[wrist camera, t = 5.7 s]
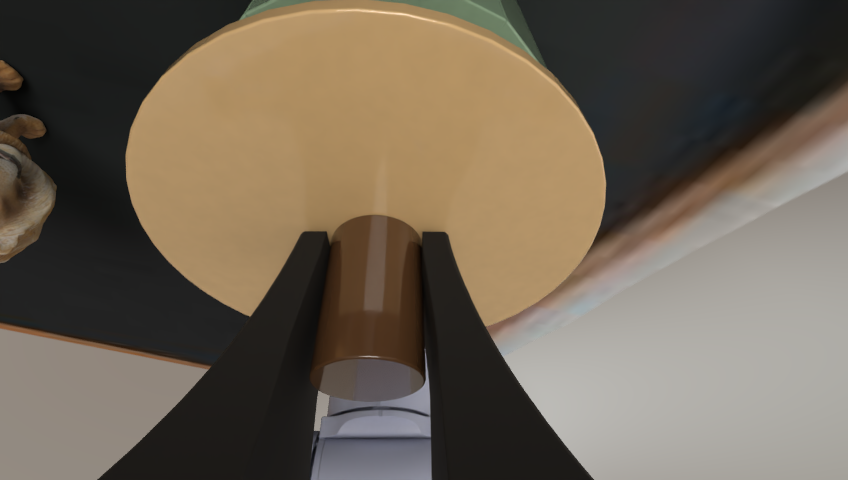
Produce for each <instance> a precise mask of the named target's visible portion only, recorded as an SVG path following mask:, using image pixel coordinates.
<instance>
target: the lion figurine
mask: <svg viewBox="0 0 848 480" xmlns="http://www.w3.org/2000/svg"><path fill="white" fill-rule="evenodd" d="M22 81H23V78H22V77H21V76H20V75H19V73H18V72H17V71H16V70H15V69H14V68H12V67H11V66H9V65H8V64H7V63H6V62H5V61H3V60H0V93H1V92H2V91H3V90H17V89H19V88H20V87H21V85H22ZM45 132H46V128H45V126H44V124H43V122H42V121H40V120H39V119H37V118H34V117H32V116H29V115H25V114H17V115H13V116H11V117H9V118H6V119H4V120H2V121H0V263H4V262H6V261H8V260H9V259H10V258H11V257H13V256H14V255H16V254H17V253H19V252H21V251H22V250H24V249H25V248H26V247H27V246H28V245H30V244H32V243H33V242H35V241H36V240H37V239H38V238H39V235H40V232H41V229H42V226H43V223H44V222H45V220H46V219H47V217H48V215H49V214H50V213H51V211H52V209H53V207H54V205H55V196H56V189H57V185H56V184H54V182H53V180H52V179H51V177H50V176H49V175H48V174H47V173H46V172H44V171H43V170H42V169H41V168H40V167H39V166H38V165H37V164H35V163H34V162H33V161H31V156H30V154H29V152H28V150H27V148H26V146H25V144H23V143H22V142H21V141H20V140H19V139H18V138H19V137H20V136H21V135H23V136H24V137H26V138H30V139H32V138H36V137H41V136H43V135H44V134H45Z"/></svg>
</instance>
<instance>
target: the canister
mask: <svg viewBox="0 0 848 480" xmlns="http://www.w3.org/2000/svg"><path fill="white" fill-rule="evenodd" d="M311 1H327V0H251V1H250V3H249V4H248V6H247V7H246V9H245V10H244V12H243V13H242V15H241V16H240V18H239V19H238V21H239V20H242V19H245V18H247V17H250V16H253V15H256V14H258V13H261V12H264V11H266V10H270V9H275V8H280V7H285V6H290V5H295V4H300V3H306V2H311ZM373 1H384V2H394V3H404V4H409V5H413V6H417V7H421V8H425V9H430V10H434V11H438V12H442V13H446V14H450V15H452V16H455V17H457V18H460V19H462V20H465V21H467V22H470V23H472V24H475V25H477V26H480V27H482V28H485V29H487V30H490V31H492V32H493V33H495V34H497V35H498V36H500V37H502V38H504V39H505V40H507V41H509V42H510V43H512V44H514V45H515V46H517V47H519V48H521V49H522V50H524V51H525V52H527V53H528V54H529V55H530V56H531V57H533V58H534V59H535V60H536V61H538V62H539V63H540V64H541V65H542V66H544V67H545V68H546V65H545V63H544V61H543V59H542V57H541V54H540V52H539V50H538V48H537V45H536V43H535V41H534V39H533V37H532V34H531V32H530V30H529V28H528V25H527V23H526V21H525V19H524V17H523V14H522V12H521V10H520V8H519V5H518V3H517V1H516V0H373ZM546 69H547V68H546Z"/></svg>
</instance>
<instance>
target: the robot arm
mask: <svg viewBox="0 0 848 480" xmlns="http://www.w3.org/2000/svg"><path fill="white" fill-rule="evenodd" d="M329 250H330V244H329V239H328V235H327V231H304V232H303V233H302V234H301V235H300V237H299V239H298V241H297V242H296V244H295V246H294V248H293V250H292V252H291V254H290V255H289V257H288V259H287V261H286V262H285V264H284V266H283V267H282V269H281V271H280V273H279V274H278V276H277V277H276V279H275V281H274V282H273V284H272V285H271V287H270V288H269V290H268V292H267V293H266V295H265V296H264V298H263V299H262V301H261V302H260V304H259V305H258V307H257V308H256V309H255V311H254V312H253V314H252V315H251V316H250V318H249V319H248V321H247V322H246V323H245V325H244V326H243V328H242V329H241V330H240V332H239V333H238V334H237V336H236V337H235V338H234V340H233V341H232V342H231V343H230V345H229V346H228V347H227V348H226V350H225V351H224V352H223V353H222V355H221V356H220V357H219V358H218V359H217V361H216V362H215V363H214V364H213V365H212V367H211V368H210V369H209V370H208V371H207V372H206V373H205V374H204V376H203V377H202V378H201V379H200V380H199V381H198V382H197V383H196V385H195V386H194V387H193V388H192V389H191V390H190V391H189V392H188V393H187V394H186V395H185V397H184V398H183V399H182V400H181V401H180V402H179V403H178V404H177V405H176V406H175V407H174V408H173V409H172V410H171V411H170V412H169V413H168V414H167V415H166V416H165V417H164V418H163V419H162V420H161V421H160V422H159V423H158V424H157V425H156V426H155V427H154V428H153V429H152V430H151V431H150V432H149V433H148V434H147V435H146V436H145V437H144V438H143V439H142V440H141V441H140V442H139V443H138V444H136V446H134V447H133V448H132V449H131V450H130V451H129V452H128V453H127V454H126V455H125V456H123V457H122V458H121V459H120V460H119V461H118V462H117V463H116V464H114V465H113V466H112V467H111V468H110V469H109V470H108V471H107V472H105V473H104V474H103V475H102V476H101V477H100V478H99V479H98V480H594V479H593V478H592V477H591V476H590V475H589V473H588V472H587V471H586V470H585V469H584V468H583V466H582V465H581V464H580V463H579V462H578V460H577V459H576V458H575V457H574V455H573V454H572V453H571V452H570V451H569V450H568V448H567V447H566V446H565V445H564V443H563V442H562V441H561V439H560V438H559V437H558V435H557V434H556V433H555V432H554V430H553V429H552V428H551V426H550V425H549V424H548V423H547V421H546V420H545V418H544V417H543V416H542V414H541V413H540V412H539V410H538V409H537V407H536V406H535V404H534V403H533V402H532V401H531V399H530V398H529V396H528V395H527V393H526V392H525V391H524V389H523V388H522V386H521V385H520V383H519V382H518V380H517V379H516V377H515V376H514V374H513V373H512V371H511V370H510V368H509V366H508V365H507V363H506V362H505V360H504V358H503V357H502V355H501V353H500V352H499V350H498V348H497V347H496V345H495V343H494V341H493V340H492V338H491V336H490V334H489V333H488V331H487V329H486V327H485V325H484V323H483V321H482V319H481V317H480V315H479V313H478V311H477V309H476V307H475V305H474V303H473V301H472V299H471V297H470V294H469V292H468V290H467V288H466V286H465V283H464V281H463V278H462V276H461V273H460V271H459V268H458V266H457V263H456V260H455V257H454V254H453V251H452V248H451V244H450V240H449V236H448V234H447V233H446V232H422V278H423V291H424V327H425V364H426V381H425V384H424V385H423V387H422V388H421V389H420V390H419V391H417V392H415V393H413V394H411V395H409V396H406V397H403V398H399V399H394V400H388V401H376V402H364V401H352V400H345V399H340V398H336V397H333V396H330V398H329V406H328V414H327V417H322V419H321V427H320V431H314V422H315V412H316V403H317V395H318V390H317V389H316V388H315V387H314V386H313V385H312V384H311V382H310V379H309V373H310V367H311V360H312V354H313V348H314V342H315V336H316V330H317V324H318V317H319V311H320V305H321V299H322V293H323V287H324V281H325V275H326V268H327V262H328V256H329Z"/></svg>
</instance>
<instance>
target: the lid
mask: <svg viewBox="0 0 848 480" xmlns="http://www.w3.org/2000/svg"><path fill="white" fill-rule="evenodd" d="M126 180H127V184H128V189H129V193H130V197H131V202H132V205H133V207H134V209H135V211H136V214H137V216H138V218H139V221H140V223H141V225H142V227H143V228H144V230H145V231H146V233H147V235H148V236H149V238H150V239H151V241H152V242H153V244H154V245H155V246H156V248H157V249H158V250H159V251H160V252H161V253H162V255H163V256H164V257H165V258H166V259H167V261H168V262H169V263H170V264H171V265H172V266H174V267H175V268H176V269H177V270H178V271H179V272H180V273H181V274H182V275H183V276H184V277H185V278H187V279H188V280H189V281H191V282H192V283H193V284H195V285H196V286H197V287H199V288H200V289H201V290H202V291H204V292H205V293H207V294H209V295H210V296H212V297H213V298H215V299H217V300H218V301H220V302H222V303H223V304H225V305H227V306H229V307H231V308H233V309H235V310H237V311H239V312H241V313H243V314H245V315H248V316H251V315H252V314H253V312H254V311H255V309H256V308H257V307H258V305H259V304H260V302H261V301H262V299H263V298H264V296H265V295H266V293H267V292H268V290H269V288H270V287H271V285H272V284H273V282H274V281H275V279H276V277H277V276H278V274H279V273H280V271H281V269H282V267H283V266H284V264H285V262H286V261H287V259H288V257H289V255H290V254H291V252H292V250H293V248H294V246H295V244H296V242H297V241H298V239H299V237H300V235H301V234H302V233H303V232H304V231H327V235H328V239H329V244H330V250H329V256H328V262H327V268H326V275H325V281H324V287H323V293H322V299H321V305H320V311H319V317H318V324H317V330H316V336H315V342H314V348H313V354H312V360H311V367H310V373H309V379H310V382H311V384H312V385H313V386H314V387H315V388H316V389H317V390H319V391H321V392H322V393H325V394H327V395H330V396H333V397H336V398H340V399H345V400H352V401H364V402H376V401H388V400H394V399H399V398H403V397H406V396H409V395H411V394H413V393H415V392H417V391H419V390H420V389H421V388H422V387H423V385H424V384H425V381H426V364H425V327H424V291H423V278H422V232H446V233H447V234H448V236H449V240H450V244H451V248H452V251H453V254H454V257H455V260H456V263H457V266H458V268H459V271H460V273H461V276H462V278H463V281H464V283H465V286H466V288H467V290H468V292H469V294H470V297H471V299H472V301H473V303H474V305H475V307H476V309H477V311H478V313H479V315H480V317H481V319H482V321H483V323H484V325H485V327H487V326H490V325H492V324H495V323H497V322H500V321H503V320H505V319H507V318H509V317H511V316H513V315H515V314H517V313H519V312H521V311H523V310H525V309H526V308H528V307H530V306H531V305H533V304H535V303H536V302H538V301H539V300H541V299H542V298H543V297H545V296H546V295H548V294H549V293H550V292H552V291H553V290H554V289H555V288H556V287H557V286H559V285H560V284H561V283H562V282H563V281H564V280H565V279H566V278H567V277H568V276H569V275H570V274H571V273H572V272H573V270H574V269H575V268H576V267H577V266H578V265H579V263H580V262H581V261H582V259H583V258H584V256H585V254H586V253H587V251H588V250H589V248H590V247H591V245H592V243H593V241H594V238H595V236H596V234H597V231H598V229H599V227H600V223H601V219H602V215H603V211H604V207H605V194H606V178H605V171H604V164H603V158H602V155H601V152H600V150H599V147H598V144H597V141H596V138H595V136H594V133H593V131H592V129H591V127H590V125H589V123H588V121H587V120H586V118H585V116H584V115H583V113H582V111H581V110H580V108H579V106H578V104H577V103H576V101H575V99H574V98H573V97H572V96H571V95H570V93H569V92H568V91H567V90H566V89H565V88H564V86H563V85H562V84H561V83H560V82H559V81H558V80H557V78H556V77H555V76H554V75H553V74H552V73H551V72H550V71H548V70H547V69H546V68H545V67H544V66H542V65H541V64H540V63H539V62H538V61H536V60H535V59H534V58H533V57H531V56H530V55H529V54H528V53H527V52H525V51H524V50H522V49H521V48H519V47H517V46H515V45H514V44H512V43H510V42H509V41H507V40H505V39H504V38H502V37H500V36H498V35H497V34H495V33H493V32H492V31H490V30H487V29H485V28H482V27H480V26H477V25H475V24H472V23H470V22H467V21H465V20H462V19H460V18H457V17H455V16H452V15H450V14H446V13H442V12H438V11H434V10H430V9H425V8H421V7H417V6H413V5H409V4H404V3H394V2H384V1H373V0H327V1H311V2H306V3H300V4H295V5H290V6H285V7H280V8H275V9H270V10H266V11H264V12H261V13H258V14H256V15H253V16H250V17H247V18H245V19H242V20H239V21H237V22H234V23H231V24H229V25H227V26H225V27H223V28H222V29H220V30H218V31H217V32H215V33H213V34H211V35H210V36H208V37H206V38H204V39H203V40H201V41H199V42H198V43H196V44H195V45H193V46H192V47H191V48H190V49H189V50H188V51H187V52H185V53H184V54H183V55H182V56H181V57H180V58H178V59H177V60H176V61H175V62H174V63H173V64H172V65H170V66H169V67H168V69H167V70H166V71H165V73H164V74H163V75H162V76H161V78H160V79H159V80H158V82H157V83H156V84H155V86H154V87H153V88H152V90H151V91H150V92H149V94H148V95H147V96H146V97H145V99H144V100H143V102H142V104H141V106H140V108H139V110H138V113H137V115H136V117H135V119H134V121H133V124H132V126H131V129H130V134H129V139H128V144H127V149H126Z"/></svg>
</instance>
